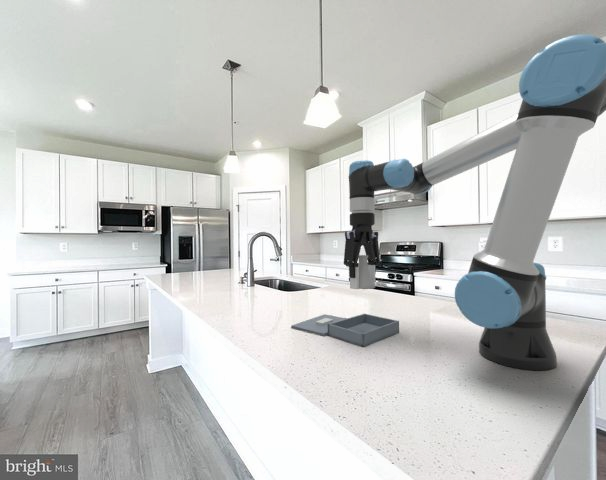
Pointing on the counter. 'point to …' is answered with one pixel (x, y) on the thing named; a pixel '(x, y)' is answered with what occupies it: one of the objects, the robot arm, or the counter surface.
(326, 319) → the bin lid
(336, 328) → the bin
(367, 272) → the flask
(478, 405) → the counter surface
